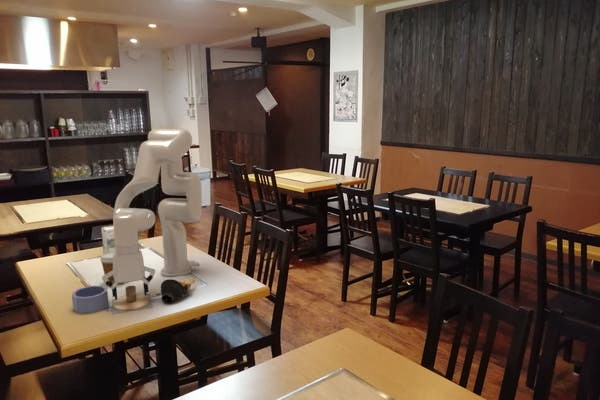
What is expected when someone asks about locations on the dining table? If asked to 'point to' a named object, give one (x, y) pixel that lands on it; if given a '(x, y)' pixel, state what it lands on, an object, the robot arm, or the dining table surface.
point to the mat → (131, 310)
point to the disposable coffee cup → (108, 264)
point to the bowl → (90, 299)
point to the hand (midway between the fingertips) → (130, 296)
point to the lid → (131, 300)
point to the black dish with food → (175, 289)
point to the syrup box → (108, 239)
